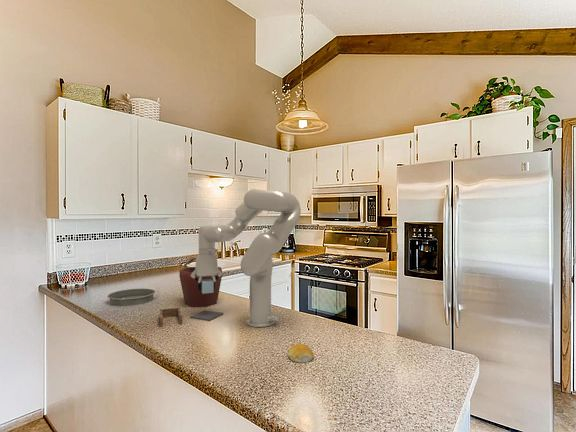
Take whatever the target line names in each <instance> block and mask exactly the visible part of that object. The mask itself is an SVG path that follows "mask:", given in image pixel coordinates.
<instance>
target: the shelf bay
mask: <svg viewBox="0 0 576 432" xmlns="http://www.w3.org/2000/svg"><path fill="white" fill-rule="evenodd" d="M176 316H177V318H178V322H179V325H183V314H182V311H181V307H173V308H163V309H159V326H160V327H161V328H163V327H164V318H168V317H176Z"/></svg>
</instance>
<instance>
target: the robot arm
mask: <svg viewBox="0 0 576 432" xmlns="http://www.w3.org/2000/svg"><path fill="white" fill-rule="evenodd" d="M263 211H265V212H266V211H267V212H276V213H280V215H279V216H278V217H277V218H276V219H275V221H274V222H273V224H272V225H271V227H270V229H268V231H266V232H262V233H260V234H258V235H257V236H256V237H254V239H253V240H252V242H251V243H250V245H249V247H248V248H247V250H246V251H245V253H244V255H243V256H242V258H241V260H240V270H241V272H242V274H244V276H247V277H249V318H247V319H246V320H245V323H246V325H247V326H249V327H252V328H265V327H270V326H271V327H272V325H274V324H275V322H277V323H278V322H279V321H280V316H278V315H274V312H273V311H272V275H273V266H274V261H273V258H272V256H271V255H275V254H277V253H279V251H281V250H282V248H283V247H284V245H285V243H286V242H287V240H288V238H289V236H290V235H291V233H292V232H293V231H294V229H295V227H296V225H297V223H298V222H299V220H300V217H301V213H302V212H301V211H302V209H301V204H300V202H299V200H298V198H297V197H296V196H295V195H294V194H292V193H289V192H284V191H280V190H279V191H277V190H267V189H265V190H264V189H256V188H254V189H249V190H248V191H246V193H244V196H243V202H242V203H241V204H240V205H239V206H238V207H237V208H236V209H235V211H234V212H235V217H234V218H233V220H232V221H230V222H229V223H228V224H227V225H217V226H215V225H214V226H213V225H202V226H199V228H198V254H197V255H196V257H195V258H196V259H195V266H194V267H195V270H194V271H193V273H192V274H191V277H192V278H194V279H195V280H196V281H197V282H198V289H199V291H202V283H201V279H202V277H203V276H211V277H212V281H213V282H214V288H215V282H216V280H217V279H218V278H219V277H220V276H221V275H222V276H223V272H222V273H221V272H220V270H219V269H218V267H219V266H218V257H217V254H216V253H218V252H219V249H217V248H216V243H223V242H230V241H232V240H233V239H235V238H236V237H238V236H239V235H240V234H242V232H244V230H245V229H246V227H248V224H249V223H250V222H252V221H253V220H254V219H255V218H256V217H257V216H259V214H261V213H262V212H263ZM195 274H196V275H197V276H199V277H198V278H197V277H196V276H195ZM217 274H218V275H217ZM215 275H216V276H215Z"/></svg>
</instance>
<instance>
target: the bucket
mask: <svg viewBox="0 0 576 432" xmlns="http://www.w3.org/2000/svg"><path fill="white" fill-rule="evenodd" d="M193 261H196V257H193V258H190V259H189V260H187V261H186V262H185V263H184V264H183V269H179V271H178V273H179V275H178V276H179V281H180V286H181V290H182V294H183V295H182V296H183V300H184V304H185V305H186V306H187V307H189V308H208V307H211V305H212V306H216V305H217V304H218V299H219V295H220V288H221V283H222V277H223V269H222V267H221V266H218V269H219V270H220V272H221V273H222V275H221V276H220V277H219V278H218V279H217V280H216V282H215V288H214V293H204V294H202V292H201V291H199V289H198V282H197V281H196V280H195V279H194V278H192V277H191V274H192V273H193V271H194V270H195V266H191V267H188V266H187V265H190V264H192V263H193ZM217 275H218V274H217ZM195 276H196V277H197V278H198V277H199V276H197V275H196V274H195ZM215 276H216V275H215ZM207 279H211V280H212V277H211V276H203V277H202V279H201V280H207Z"/></svg>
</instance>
